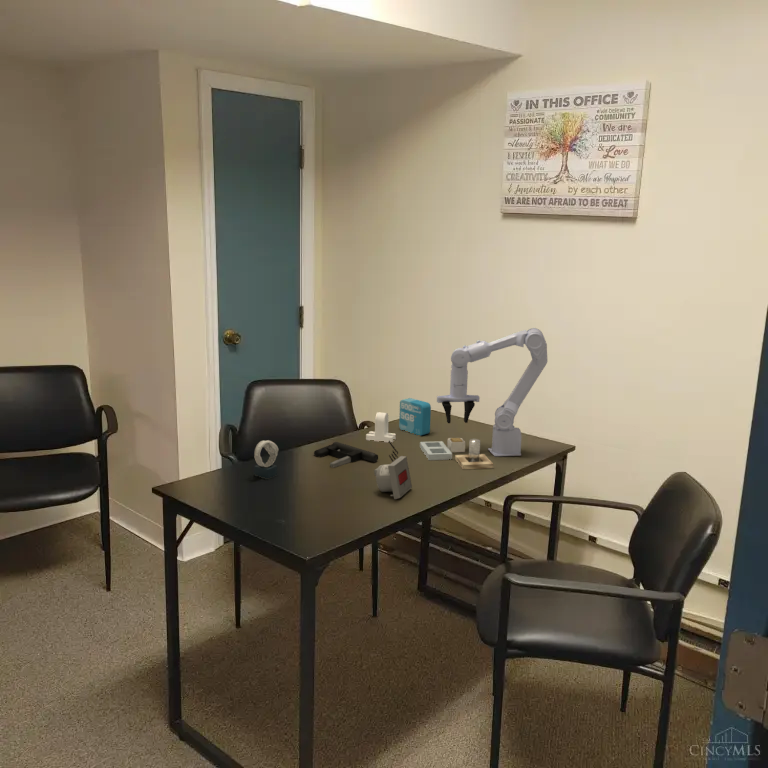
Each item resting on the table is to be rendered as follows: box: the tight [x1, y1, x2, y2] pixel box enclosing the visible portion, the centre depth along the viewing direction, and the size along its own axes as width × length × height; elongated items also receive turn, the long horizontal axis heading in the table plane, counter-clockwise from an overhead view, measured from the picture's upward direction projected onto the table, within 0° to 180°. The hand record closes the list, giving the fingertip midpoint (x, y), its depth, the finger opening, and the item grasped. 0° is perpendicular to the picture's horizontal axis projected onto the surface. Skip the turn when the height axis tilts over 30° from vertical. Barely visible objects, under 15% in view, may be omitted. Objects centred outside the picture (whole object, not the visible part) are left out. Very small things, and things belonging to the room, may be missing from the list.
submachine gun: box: [313, 441, 379, 469], centre depth 236 cm, size 3×20×16 cm
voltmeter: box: [373, 441, 413, 500], centre depth 213 cm, size 27×11×10 cm, turn 12°
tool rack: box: [419, 440, 453, 461], centre depth 243 cm, size 8×14×2 cm, turn 9°
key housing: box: [446, 437, 466, 453], centre depth 247 cm, size 5×5×4 cm
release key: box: [450, 437, 462, 442], centre depth 247 cm, size 3×3×3 cm
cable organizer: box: [365, 411, 397, 443], centre depth 257 cm, size 5×10×10 cm, turn 73°
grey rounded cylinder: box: [468, 438, 481, 462], centre depth 233 cm, size 4×4×8 cm
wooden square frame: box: [454, 453, 494, 470], centre depth 233 cm, size 10×10×2 cm
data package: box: [398, 397, 432, 437], centre depth 267 cm, size 12×4×12 cm, turn 44°
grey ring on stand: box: [253, 439, 279, 479], centre depth 218 cm, size 6×8×11 cm
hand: (457, 422), depth 245 cm, fingers open, 5 cm apart
